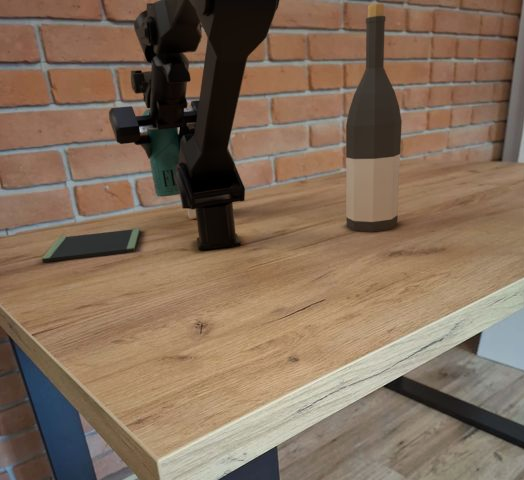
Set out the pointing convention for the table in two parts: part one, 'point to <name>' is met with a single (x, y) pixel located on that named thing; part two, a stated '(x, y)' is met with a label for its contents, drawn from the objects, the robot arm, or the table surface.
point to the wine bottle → (373, 139)
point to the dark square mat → (93, 245)
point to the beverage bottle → (164, 159)
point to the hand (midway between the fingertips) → (163, 154)
